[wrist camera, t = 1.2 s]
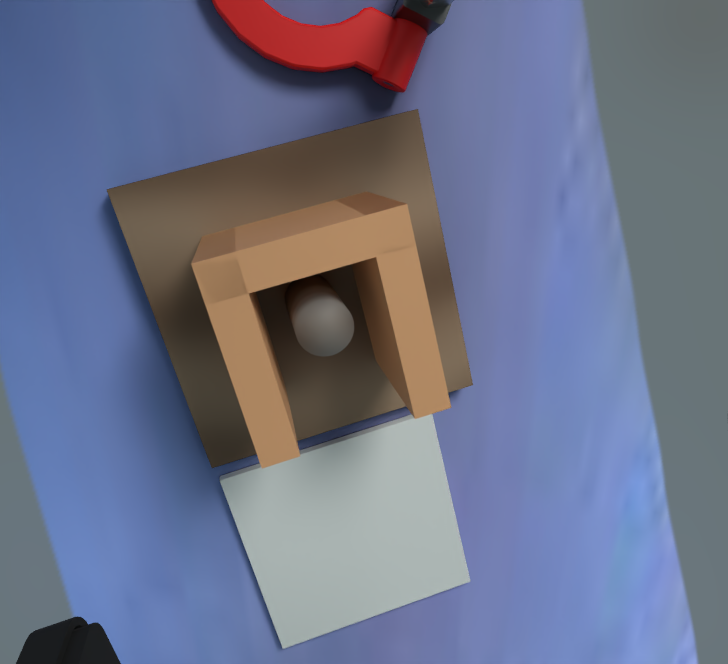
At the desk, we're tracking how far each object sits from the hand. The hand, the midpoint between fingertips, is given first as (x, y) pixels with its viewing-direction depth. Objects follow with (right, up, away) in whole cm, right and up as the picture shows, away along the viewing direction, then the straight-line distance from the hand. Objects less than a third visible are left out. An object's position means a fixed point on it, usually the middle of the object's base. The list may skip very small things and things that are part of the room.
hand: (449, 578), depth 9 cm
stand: (-4, +5, +17) cm, 18 cm away
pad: (-2, -6, +21) cm, 22 cm away
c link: (-3, +5, +16) cm, 17 cm away
